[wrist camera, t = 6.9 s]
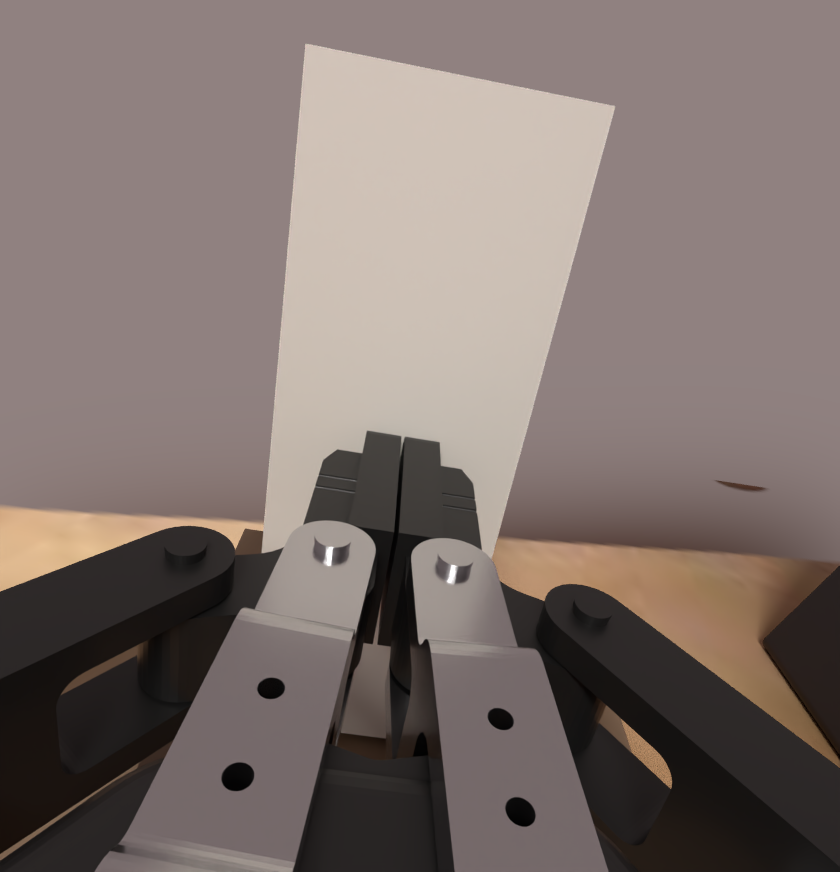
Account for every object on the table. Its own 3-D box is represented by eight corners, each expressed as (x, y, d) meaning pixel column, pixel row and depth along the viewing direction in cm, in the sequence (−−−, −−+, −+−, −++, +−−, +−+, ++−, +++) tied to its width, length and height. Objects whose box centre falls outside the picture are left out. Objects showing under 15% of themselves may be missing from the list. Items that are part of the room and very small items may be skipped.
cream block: (437, 614, 21) (558, 113, 15) (440, 745, 17) (615, 106, 10) (285, 592, 21) (342, 70, 15) (247, 720, 16) (305, 43, 10)
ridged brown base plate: (582, 650, 23) (608, 583, 22) (748, 1199, 11) (824, 1122, 10) (123, 585, 22) (121, 510, 21) (-229, 1117, 10) (-284, 1019, 9)
